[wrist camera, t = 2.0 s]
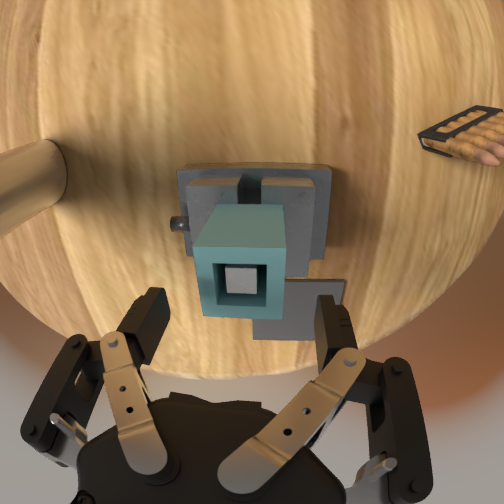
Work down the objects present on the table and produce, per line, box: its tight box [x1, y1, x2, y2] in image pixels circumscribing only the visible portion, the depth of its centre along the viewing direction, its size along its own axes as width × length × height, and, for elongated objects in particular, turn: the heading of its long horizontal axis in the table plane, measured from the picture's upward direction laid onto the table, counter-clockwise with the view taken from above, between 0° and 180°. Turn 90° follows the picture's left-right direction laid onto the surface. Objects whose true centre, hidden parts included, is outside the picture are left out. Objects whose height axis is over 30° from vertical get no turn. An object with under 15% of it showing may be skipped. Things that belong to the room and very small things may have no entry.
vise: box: [170, 162, 332, 294], centre depth 22 cm, size 14×9×14 cm, turn 91°
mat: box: [253, 279, 344, 341], centre depth 34 cm, size 11×10×1 cm
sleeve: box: [193, 204, 286, 319], centre depth 19 cm, size 5×5×7 cm
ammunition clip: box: [417, 105, 504, 166], centre depth 16 cm, size 11×2×12 cm, turn 123°
